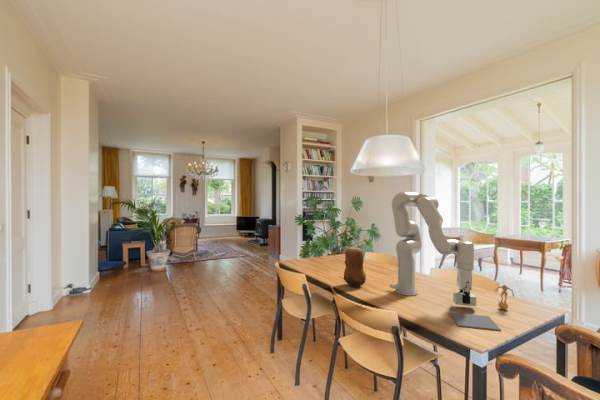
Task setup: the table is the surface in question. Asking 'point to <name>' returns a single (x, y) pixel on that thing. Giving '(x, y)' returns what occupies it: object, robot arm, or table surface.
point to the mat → (475, 321)
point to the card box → (459, 299)
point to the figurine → (502, 303)
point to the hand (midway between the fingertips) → (464, 300)
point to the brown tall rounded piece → (354, 267)
